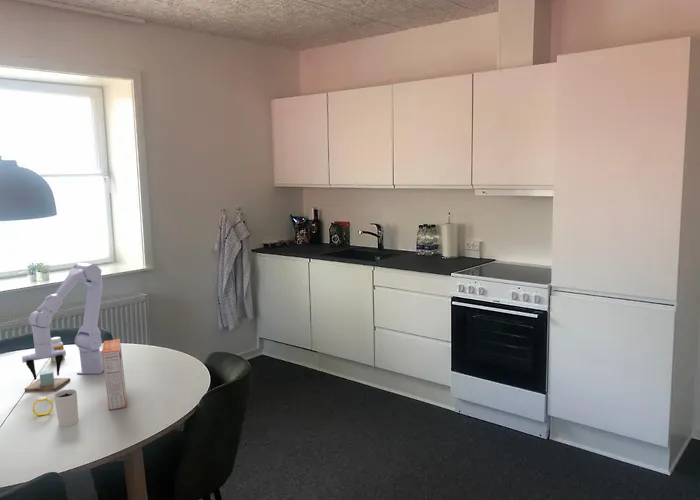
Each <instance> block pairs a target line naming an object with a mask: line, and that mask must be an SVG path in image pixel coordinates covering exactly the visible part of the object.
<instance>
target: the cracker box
mask: <svg viewBox="0 0 700 500" xmlns="http://www.w3.org/2000/svg"><path fill="white" fill-rule="evenodd" d="M102 344H103V345H102V349H103V351H102V356H103V365H104V371H103V372H104V381H105V387H106V388H105V389H106V397H107V403H108V410H109V411H113V410H118V409H123V408H126V407H127V389H126V387H127V386H126V377H125V370H124V363H123V362H124V361H123V353H122V344H121V338H117V339H116V338H115V339H109V340H104V341H103V343H102Z"/></svg>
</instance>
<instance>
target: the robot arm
mask: <svg viewBox="0 0 700 500" xmlns="http://www.w3.org/2000/svg"><path fill="white" fill-rule="evenodd" d="M81 283H84V284H85V285H86V287H87V291H86V292H87V293H86V299H85V305H84V306H85V308H84V313H83V320H82V325H81V326H80V328H78V330H77V334H76V336H75V337H74V344H75V346H76V347H77V348H78V350H79V351H78V352H79V358H80V367H81V368H80V370H79V371H78V372H77V374H78V375H82V374H83V375H86V374H87V375H88V374H89V375H94V374H95V375H96V374H101V373H103V372H104V365H103V356H102V351H103V348H101V346H102V344H103V343H102V336H101V335H102V332H101V330H100V329H99V327H98V324H99V318H100V317H99V315H100V310H101V302H102V294H103V289H104V282H103V278H102V269H101V268H100V267H99V265H97V264H95V263H91V264H90V263H83V262H77V263H75V264H73V267H72V268H71V269H70V270H69V272H68V275H67V276H66V278H65V279H64V280H63V282H62V283H61V284H60V286H59V287H58V288H57V290H56V291H55V293H52V294H48V295H46V296H45V298H44V300H43V302H42V303H41V304H40V306H38V307H37V308H36V310H35V311H32V312H31V313H30V315H28V316H29V317H28V319H27V323H28V324H29V326H31V330H32V336H33V344H34V345H33V346H34V353H32V354H27V355H23V356H21V357H22V358H21V359H22V360H21V361H22V363H25V364H26V366H27V368H28V369H29V370H30V372H31V374H32V377H33V380H34V381H35V380H36V381H37V372H36V368H35V361H37V360H43V359H49V358H50V359H51V357H56V361H55V364H56V376H60V370H61V365H62V362H63V360H64V359H63V356H67V353H66V352H67V351H66V349H64V350H54V351H52V344H51V338H52V337H51V329H50V325H51V323H52V321H53V317H54V315H55V314H56V313H57V311H58V310H59V308H60V307H62V305H63V304H64V302H63V300H64V298H65V297H66V296H67V295H68V293H70V292H71V291H72V289H73V288H74V287H75V286H76V285H77V284H81Z"/></svg>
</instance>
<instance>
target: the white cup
mask: <svg viewBox="0 0 700 500" xmlns="http://www.w3.org/2000/svg"><path fill="white" fill-rule="evenodd" d="M53 398H54V403H55V409H56V410H55V411H56V415H57V421H58V425H59V426H60V427H70V426H74V425H75V424H77V423H78V422H79V411H78V410H79V409H78V408H79V407H78V393H77V389H71V388H69V389H63V390H60V391H56V392H55V393H54V394H53Z"/></svg>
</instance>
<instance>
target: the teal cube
mask: <svg viewBox="0 0 700 500" xmlns="http://www.w3.org/2000/svg"><path fill="white" fill-rule="evenodd" d="M54 378H55V376H54V369H53V368H51V369H45V370H41V371H40V370H39V379H40V382H41V386H46V385H51V384H54Z"/></svg>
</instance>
